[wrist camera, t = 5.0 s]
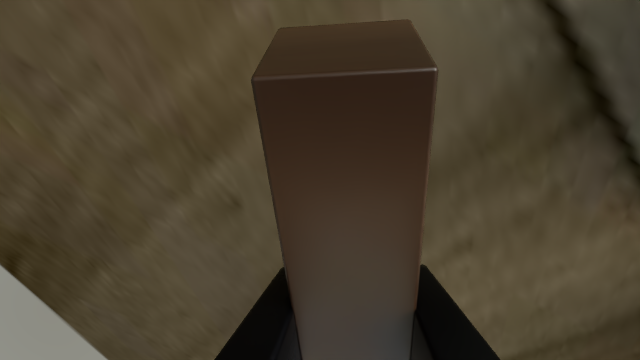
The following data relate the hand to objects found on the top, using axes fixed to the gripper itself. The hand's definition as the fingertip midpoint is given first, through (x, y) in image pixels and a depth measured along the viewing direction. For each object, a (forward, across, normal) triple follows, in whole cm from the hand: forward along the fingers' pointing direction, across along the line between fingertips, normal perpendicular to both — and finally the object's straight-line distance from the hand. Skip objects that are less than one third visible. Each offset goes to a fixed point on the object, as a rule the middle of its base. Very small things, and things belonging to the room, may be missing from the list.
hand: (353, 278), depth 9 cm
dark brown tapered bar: (+1, 0, +3) cm, 3 cm away
